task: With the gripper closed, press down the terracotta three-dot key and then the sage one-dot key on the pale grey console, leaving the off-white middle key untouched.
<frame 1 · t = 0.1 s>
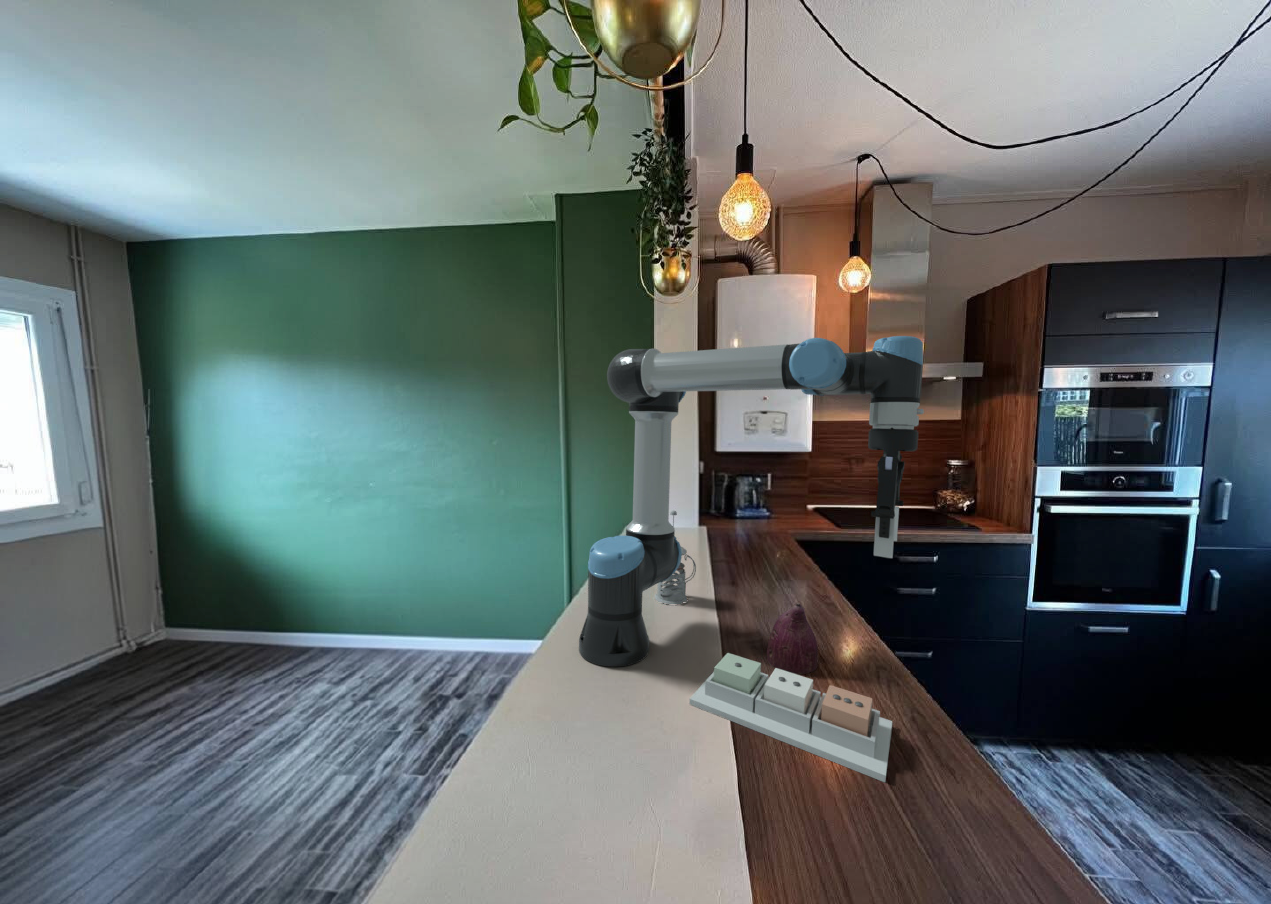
hand: (886, 547, 80), 28 cm above the counter, fingers open, 13 cm apart
key one: (737, 672, 81), point 4 cm above the counter, slide at 0.0 cm
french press: (673, 599, 126), on the counter
key two: (788, 690, 76), point 4 cm above the counter, slide at 0.0 cm
key three: (847, 709, 71), point 4 cm above the counter, slide at 0.0 cm
console: (787, 715, 76), on the counter
vegetable: (791, 661, 94), on the counter
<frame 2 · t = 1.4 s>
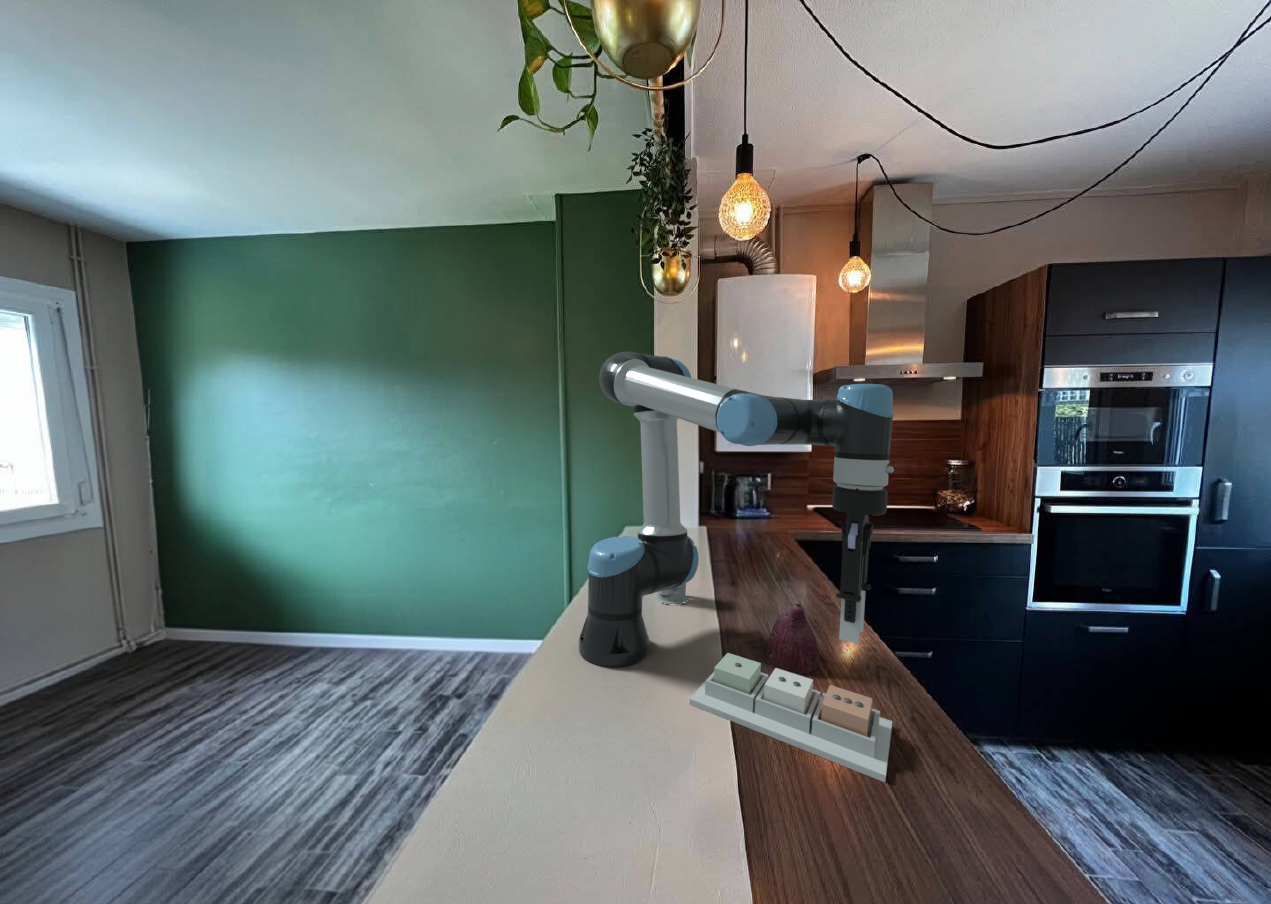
hand: (851, 634, 70), 17 cm above the counter, fingers open, 4 cm apart
nothing on the counter moved.
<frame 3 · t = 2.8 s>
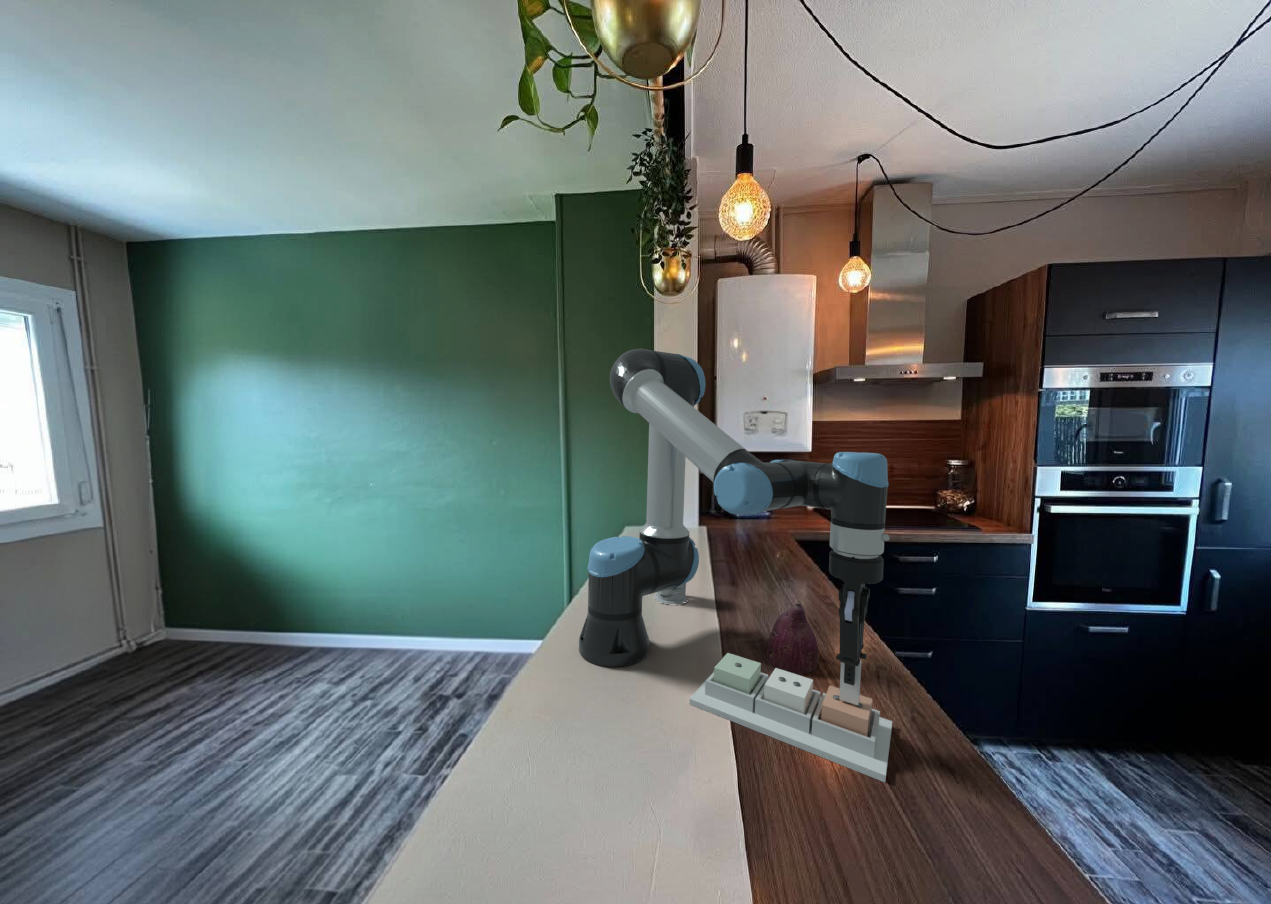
hand: (849, 699, 70), 6 cm above the counter, fingers closed
key three: (847, 710, 71), point 4 cm above the counter, slide at 0.1 cm, touching gripper
everything else where it was.
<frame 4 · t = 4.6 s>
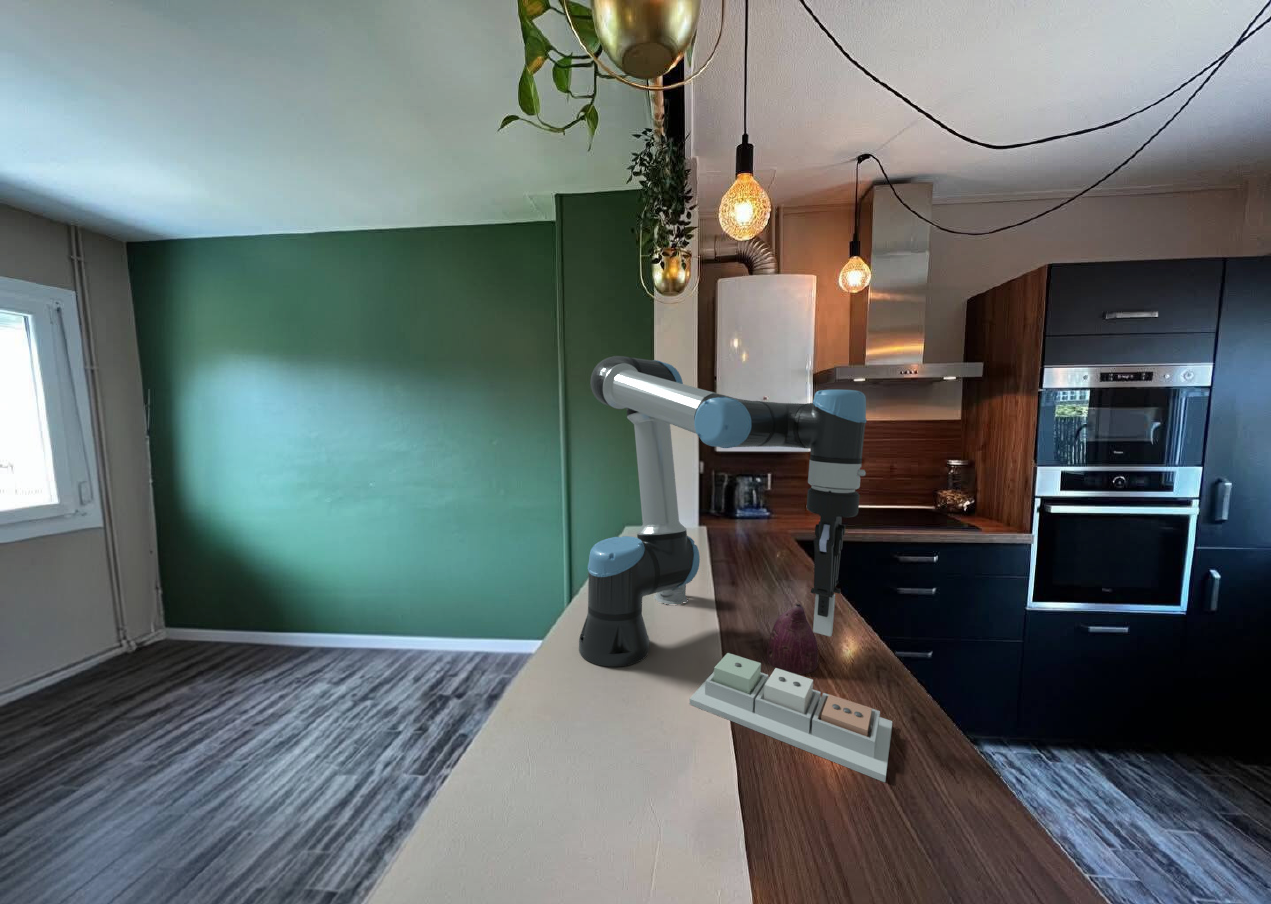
hand: (822, 632, 73), 16 cm above the counter, fingers closed
key three: (846, 719, 71), point 3 cm above the counter, slide at 1.6 cm
everything else where it was.
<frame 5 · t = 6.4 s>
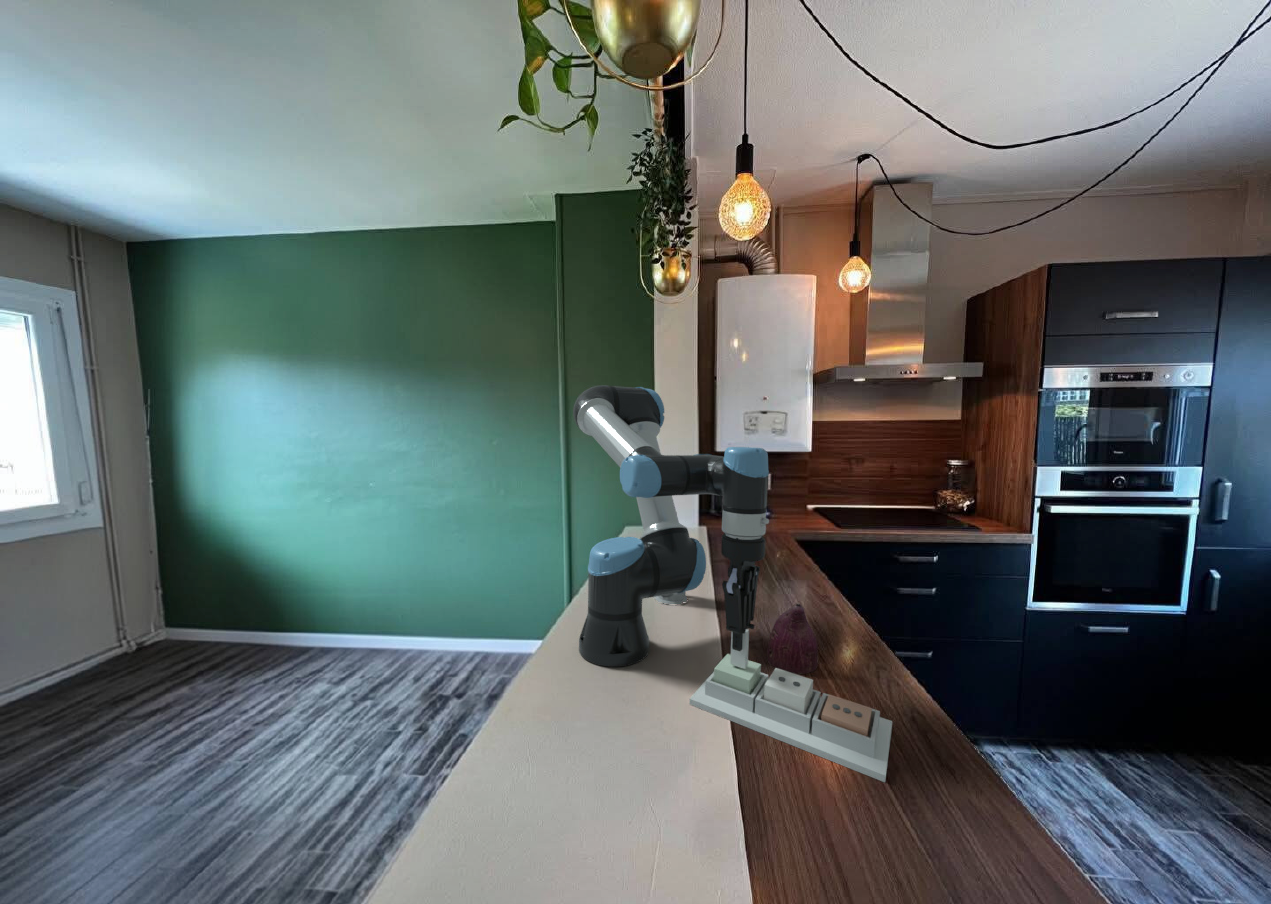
hand: (739, 664, 80), 6 cm above the counter, fingers closed
key one: (737, 673, 81), point 4 cm above the counter, slide at 0.2 cm, touching gripper
everything else where it was.
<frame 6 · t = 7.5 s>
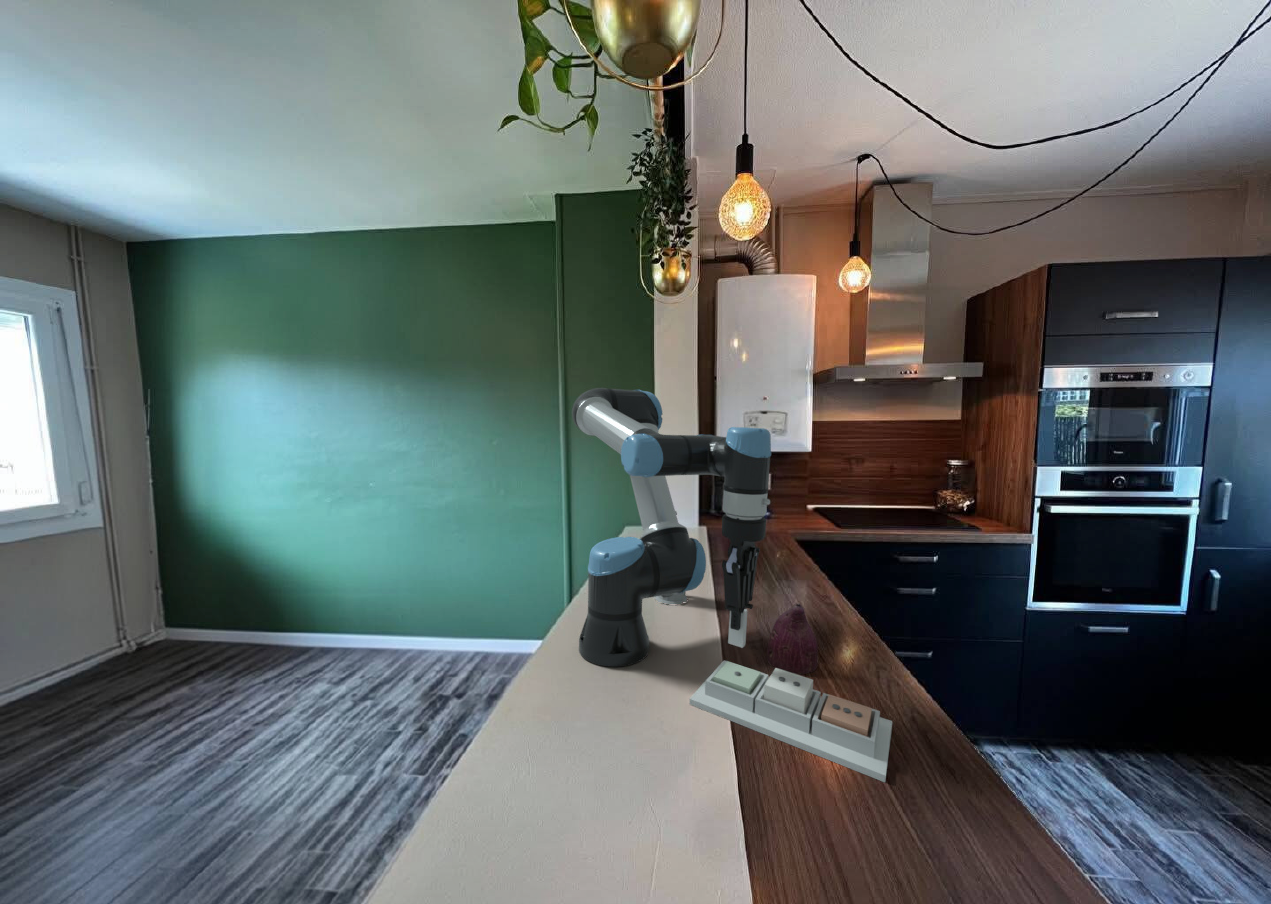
hand: (736, 643, 81), 10 cm above the counter, fingers closed
key one: (737, 681, 81), point 3 cm above the counter, slide at 1.6 cm
everything else where it was.
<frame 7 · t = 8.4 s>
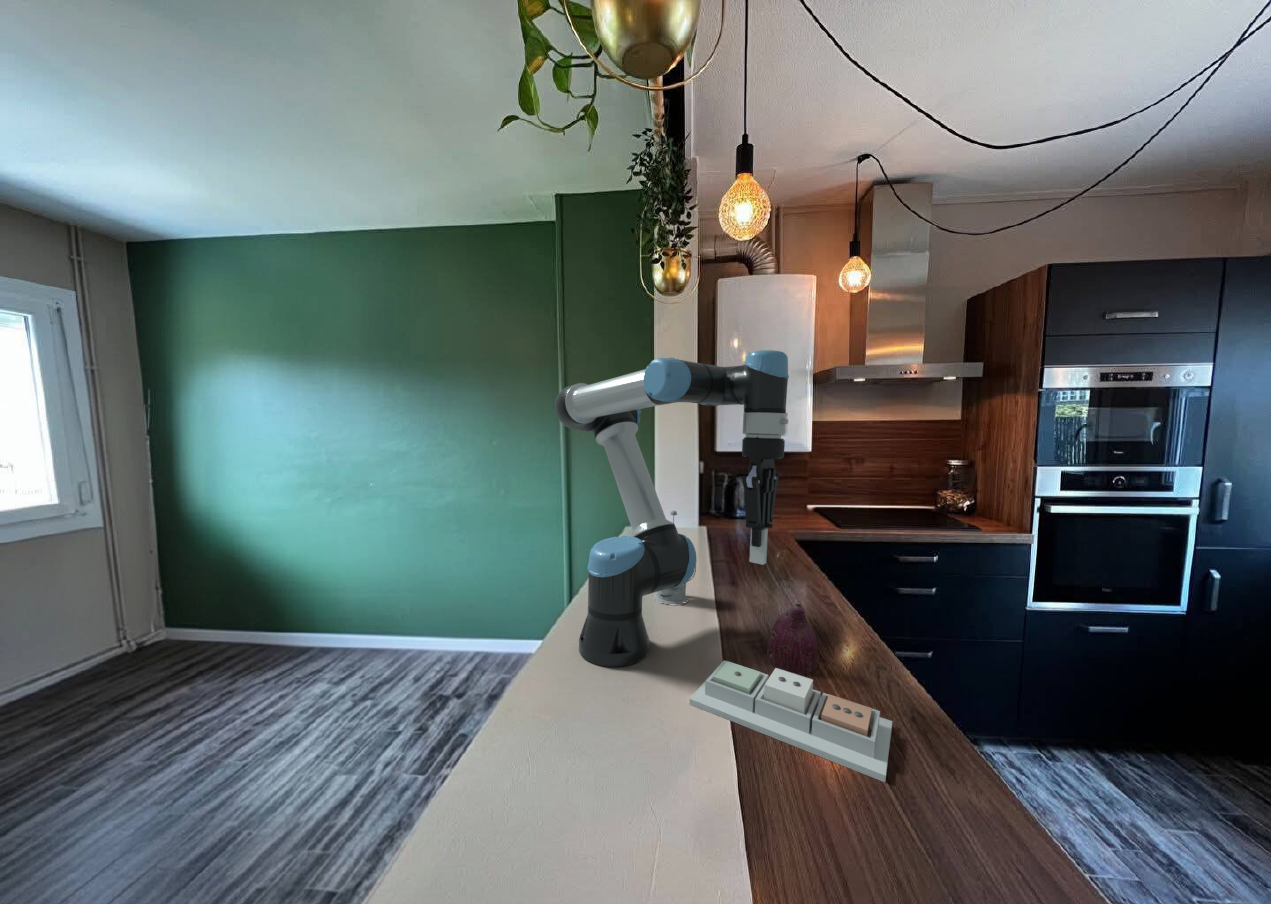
hand: (757, 562, 84), 23 cm above the counter, fingers closed
nothing on the counter moved.
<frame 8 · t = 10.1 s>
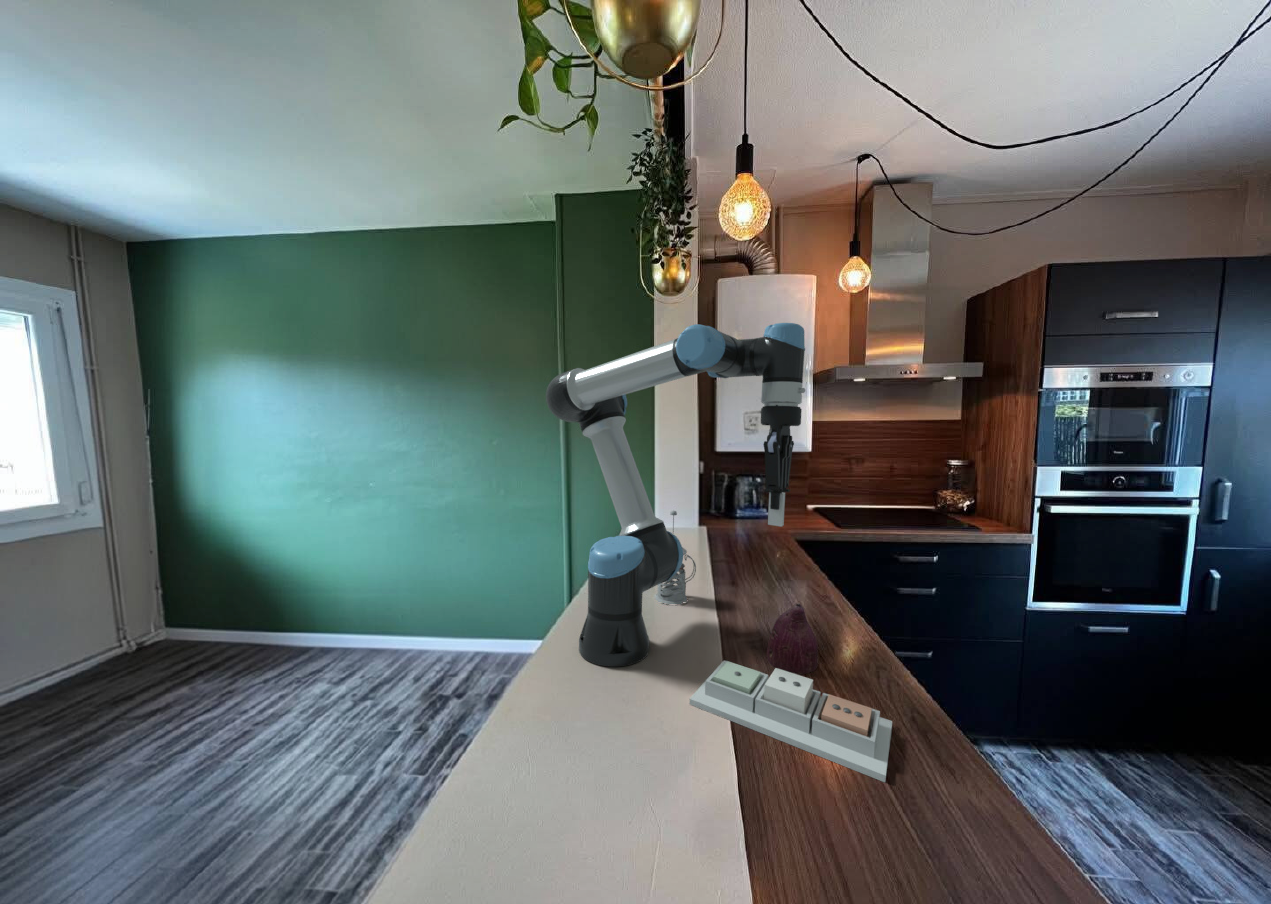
hand: (775, 524, 89), 29 cm above the counter, fingers closed
nothing on the counter moved.
at the end: key three slide at 1.6 cm; key one slide at 1.6 cm; key two slide at 0.0 cm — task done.
